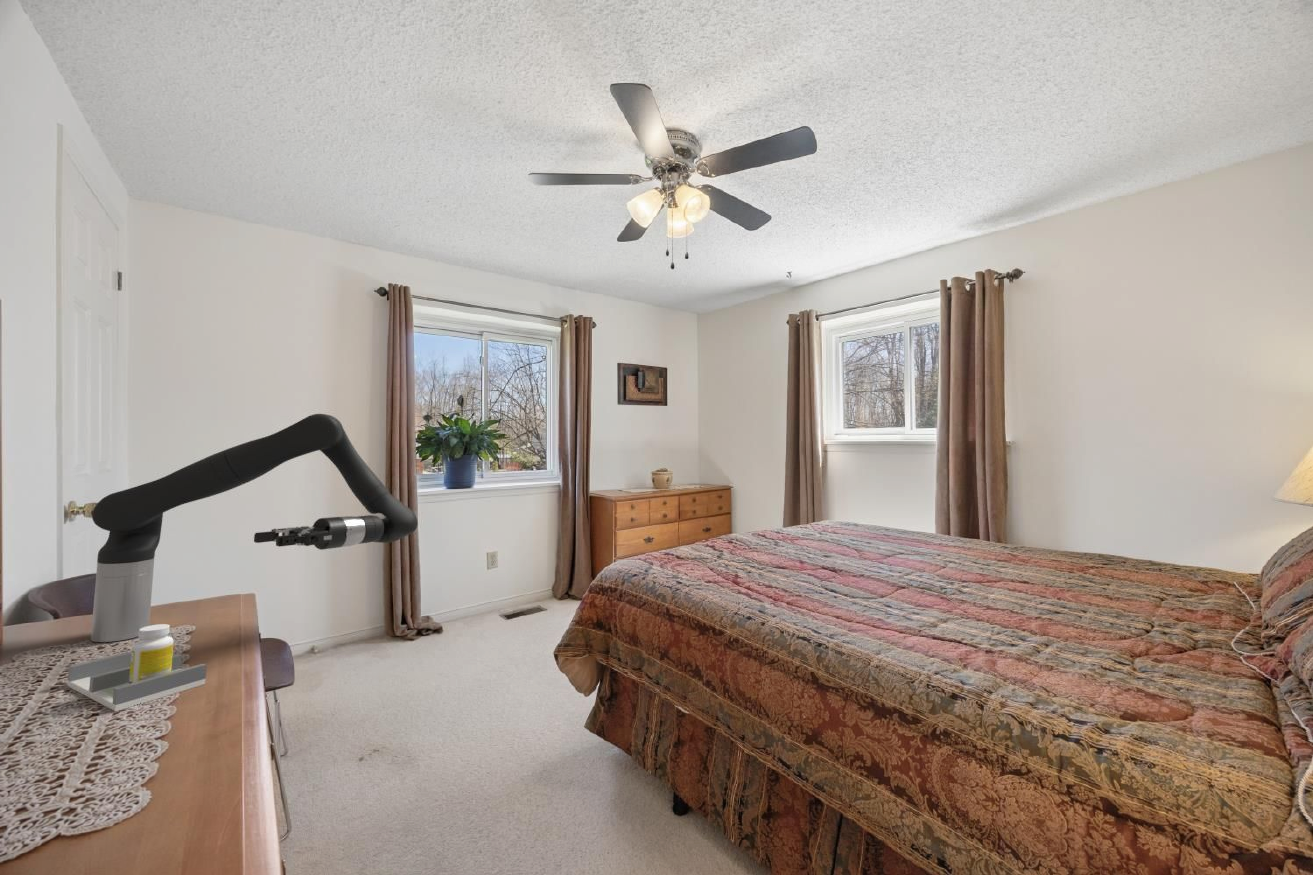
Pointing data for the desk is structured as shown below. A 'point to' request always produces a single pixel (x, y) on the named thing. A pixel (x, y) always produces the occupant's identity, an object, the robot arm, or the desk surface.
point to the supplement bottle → (151, 653)
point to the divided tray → (112, 685)
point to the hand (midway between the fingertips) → (265, 539)
